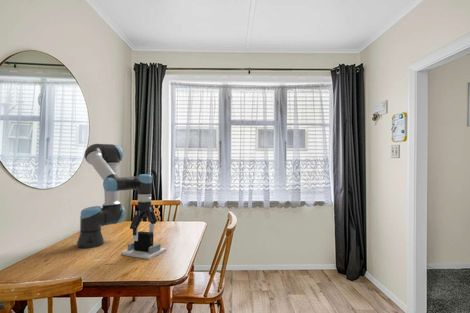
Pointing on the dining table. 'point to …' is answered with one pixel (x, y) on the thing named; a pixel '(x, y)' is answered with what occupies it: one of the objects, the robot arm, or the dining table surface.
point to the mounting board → (152, 252)
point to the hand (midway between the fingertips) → (143, 237)
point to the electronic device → (143, 241)
